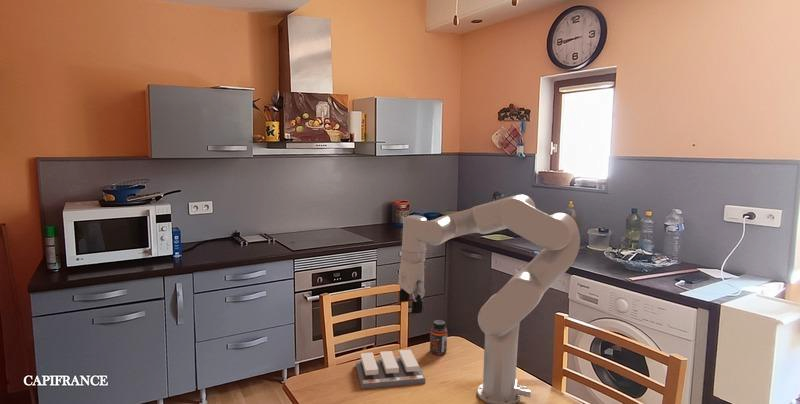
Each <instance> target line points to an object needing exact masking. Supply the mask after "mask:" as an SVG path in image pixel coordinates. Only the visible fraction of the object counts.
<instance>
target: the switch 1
mask: <svg viewBox="0 0 800 404" xmlns="http://www.w3.org/2000/svg"><path fill="white" fill-rule="evenodd" d="M375 360H376V359H375V356H374V353H373V352H361V353H360V361H362V364H363V368H364V372H365V375H376V374H378V367H377V364H376V361H375Z"/></svg>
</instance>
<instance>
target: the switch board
mask: <svg viewBox="0 0 800 404" xmlns="http://www.w3.org/2000/svg"><path fill="white" fill-rule="evenodd" d="M395 360H396V362H397V364H398V367H399V373H387V374H386V372H385V369H384V366H383V363H382V361H381V359H375V361H376V364H377V367H378V374H376V375H365V372H364V368H363V364H362V361H361V360H360V361H355V368H356V372H357V375H358V379H359V380H358V381H359V384H360V387H361V389H362V390H363V389H374V388H375V389H377V388H385V387H386V388H387V387H396V386H397V387H398V386H409V385H417V384H419V385H420V384H426V377H425V374H424V373H423V371H422V369H421V367H420V366H419V371H410V372H406V369H405V367H404V365H403V363H402V361H401V358H400V357H397V358H396V357H395Z"/></svg>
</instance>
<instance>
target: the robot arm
mask: <svg viewBox="0 0 800 404" xmlns="http://www.w3.org/2000/svg"><path fill="white" fill-rule="evenodd" d="M402 223H403V224H402V241H401V259H400V264H399V271H398V280H397V281H398V282H397V284H398V286H399V302H400V303H406V302H407V303H408V302H410V295H411V294H412V298H413V300H412V301H411V302H412V303H411V305H412V306H411V313H412V314H413V315H414V314H421V313H422V312H423V301H424V299H425V294H426V290H425V288H424V287H425V262H426V255H427V253H426V252H427V245H430V246H439V245H440V246H441V245H442V244H444V243H445V242H447V241H448V240H451V239H453V238H457V237H460V236H465V235H470V234H475V233H476V234H477V233H478V234H481V235H487V234H491V233H494V232H499V231H502V230H505V229H508V230H509V231H511V232H513V233H515V234H516V235H518V236H520V237H522V238H524V239H526V240H528V241H530V242H531V243H532V244H535V245H537V246H539V247H541V248H542V249H541V251H539V252H538V254H537V255H535V256H534V257H533V259H532V260H531V261H529V262H528V263H527V264H526V265H525V266H524V267H523V268H521V269H520V270H519V271H517V272H516V273H515V274H514V275H513V276H512V277H511V278H510V279H509V280H508V281H507V282H506V283H505V285H504V286H503V287H502V288H500V289H499V290H498V291H497V292H496V293H494V294H492V295H491V296H490V297H489V298H488V300H487V301H486V302H485V303H484V304H483V305H482V306H481V308H480V310H479V312H478V315H477V322H478V323H477V324H478V326H479V328H480V330H481V331H482V332H483V333H484V351H483V352H484V354H483V373H482V377H483V378H482V383H480V384H479V385H478V386H477V389H476V390H477V392H476V393H477V396H478V398H479V399H480V400H482V401H483V402H484V403H486V404H517V403H518V402H520V401H521V396H523V397H525V398H531V393H532V390H531V389H530V390H529V389H528V386H526V385H520V384H518V379H517V363H518V362H517V361H518V346H519V344H518V343H519V331H520V324H521V321H522V320H523V319H525V317H527V316H528V315H529V314H530V313H531V312H532V311H533V310H534V309H535V308H536V307H537V305H538V304H539V303H540V301H541V300H542V298H543V296H544V294H545V293H546V292H547V290H548V289H549V288H551V286H553V285H554V284H555V283H556V282H557V281H558V280H559V279H560V278H561V277H562V276H563V275H564V274H565V273H566V272H567V271H568V270H569V268H570V267H572V265H573V263H574V261H576V258H577V256H578V253H579V251H580V246H581V235H580V230H579V227H578V225H577V222H576V221H575V219H574V218H573V217H572V216H571V215H569V214H567V213H564V212H556V213H553V214H547V213H545V212H544V211H543V210H542V211H541V210H540V209H538V208H536V204H535V202H534V200H533V199H532V198H531V197H529V196H528V195H525V194H516V195H511V196H507V197H503V198H501V199H497V200H493V201H490V202H487V203H482V204H479V205H476V206H472V207H471V208H467V209H464V210H460V211H456V212H452V213H450V214H446V215H441V216H440V217H437V218H435V219H430V220H428V219H427V218H426V217H425V216H422V215H414V214H413V215H407V216H405V217H404V219H403V222H402Z"/></svg>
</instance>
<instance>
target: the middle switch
mask: <svg viewBox="0 0 800 404" xmlns="http://www.w3.org/2000/svg"><path fill="white" fill-rule="evenodd" d="M379 357H380V360H381V361H382V363H383V366H384V369H385V372H386V374H387V373H399V367H398V364H397V362H396V360H395V358H396V357H395V355H394V353H393V351H392V350H390V351H389V350H388V351H387V350H386V351H380V352H379Z"/></svg>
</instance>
